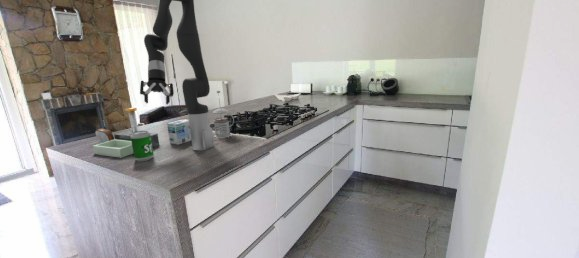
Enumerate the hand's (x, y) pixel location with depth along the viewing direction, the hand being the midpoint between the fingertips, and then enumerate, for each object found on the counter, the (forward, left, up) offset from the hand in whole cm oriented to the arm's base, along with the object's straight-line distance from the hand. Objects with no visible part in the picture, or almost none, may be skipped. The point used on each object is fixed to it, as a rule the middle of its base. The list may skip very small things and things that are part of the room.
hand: (157, 103), depth 129 cm
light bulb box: (0, -12, -22) cm, 25 cm away
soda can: (-3, +14, -22) cm, 27 cm away
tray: (+18, +11, -22) cm, 30 cm away
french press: (-16, -27, -22) cm, 38 cm away
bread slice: (+36, +4, -22) cm, 42 cm away
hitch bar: (+18, 0, -22) cm, 28 cm away
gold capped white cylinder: (+18, 0, -22) cm, 28 cm away
